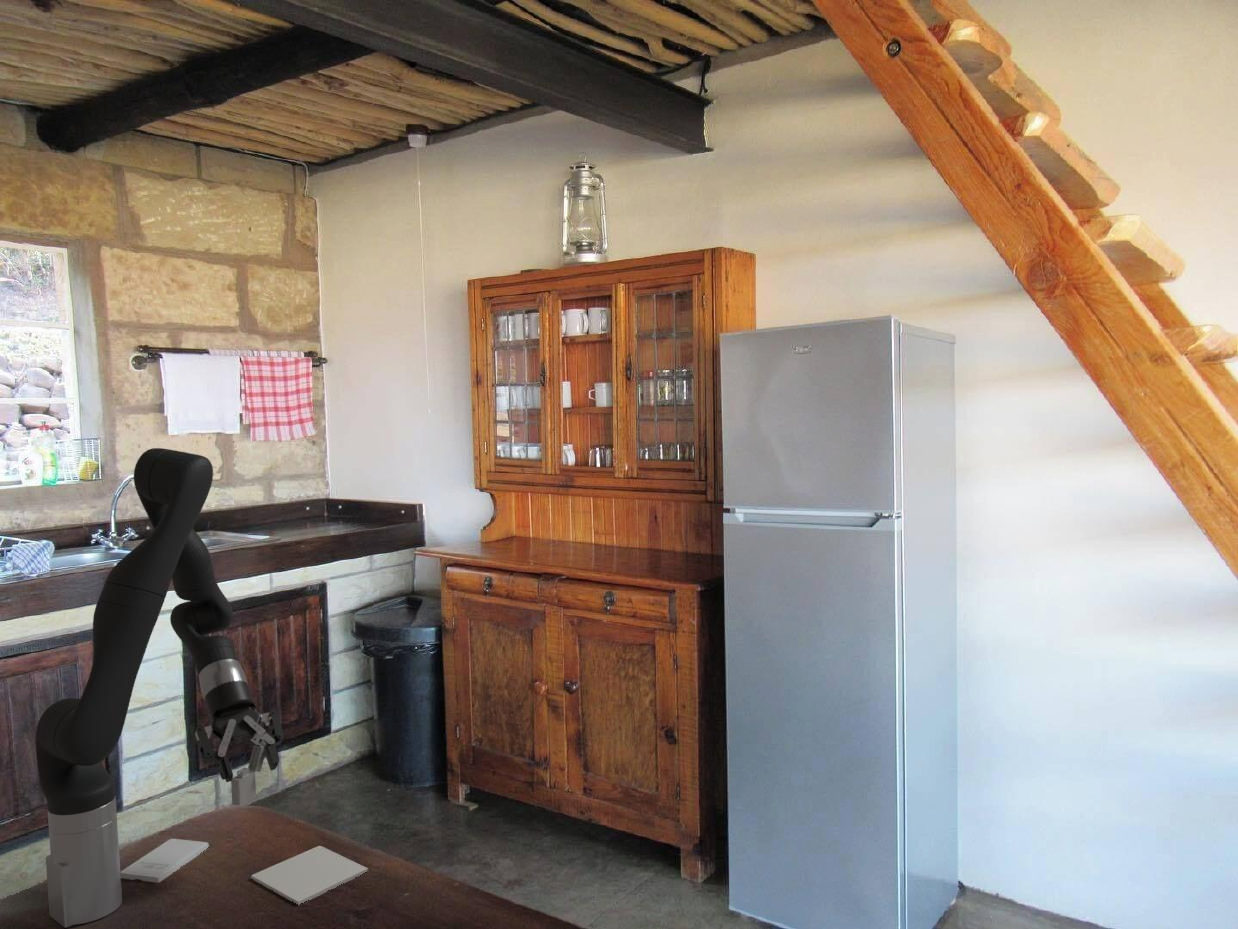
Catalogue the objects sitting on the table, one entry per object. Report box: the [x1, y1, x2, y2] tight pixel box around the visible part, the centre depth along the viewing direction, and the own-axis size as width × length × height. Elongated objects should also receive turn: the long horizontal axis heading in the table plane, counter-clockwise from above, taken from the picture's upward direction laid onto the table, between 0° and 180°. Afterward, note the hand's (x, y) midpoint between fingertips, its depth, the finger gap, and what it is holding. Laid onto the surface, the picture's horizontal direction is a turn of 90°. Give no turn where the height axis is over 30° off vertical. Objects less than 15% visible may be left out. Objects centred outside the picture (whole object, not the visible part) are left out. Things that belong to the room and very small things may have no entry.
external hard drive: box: [120, 838, 210, 884], centre depth 161 cm, size 2×8×12 cm
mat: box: [250, 845, 369, 906], centre depth 155 cm, size 13×14×1 cm
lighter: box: [230, 745, 266, 806], centre depth 160 cm, size 7×2×8 cm, turn 161°
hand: (252, 773), depth 158 cm, fingers closed on lighter, 7 cm apart
